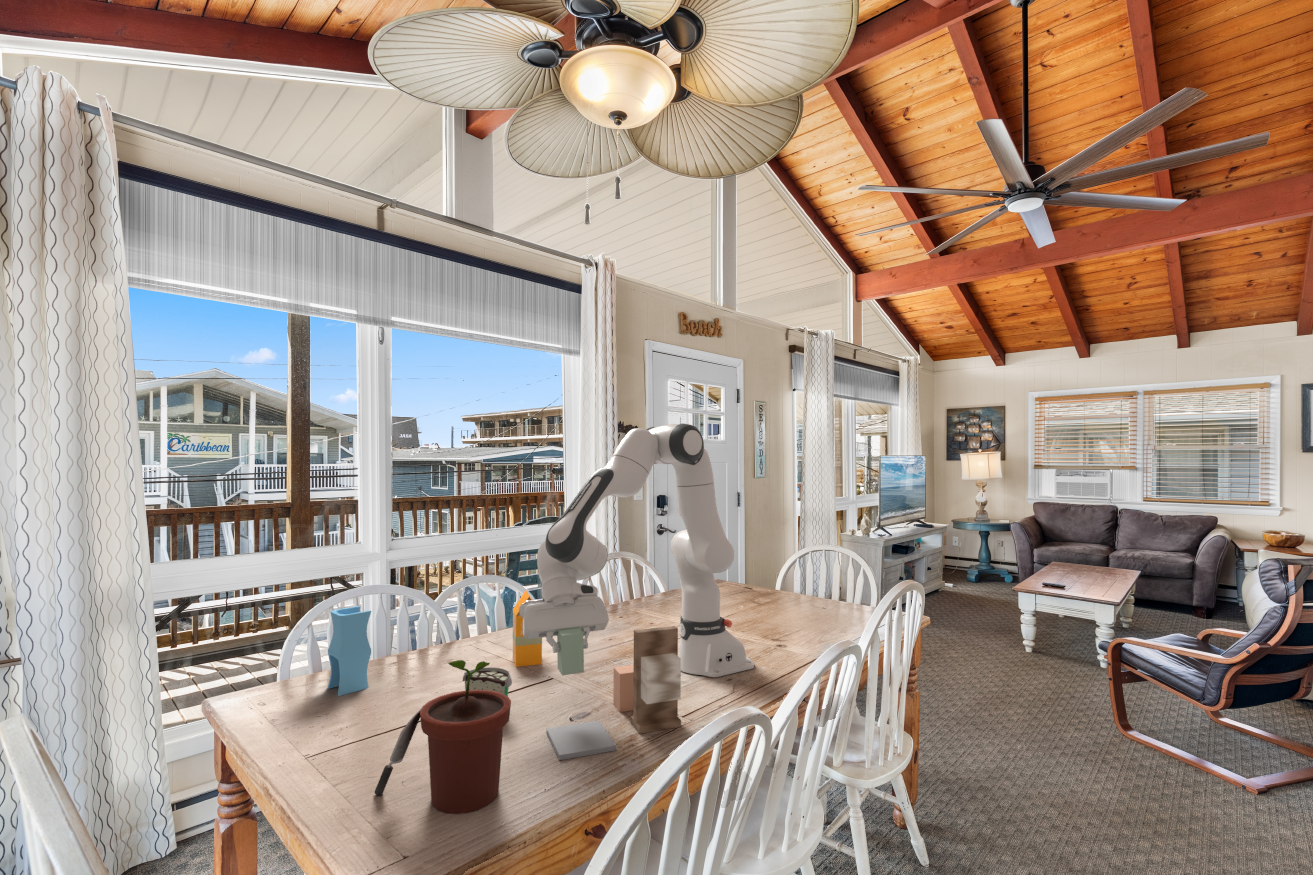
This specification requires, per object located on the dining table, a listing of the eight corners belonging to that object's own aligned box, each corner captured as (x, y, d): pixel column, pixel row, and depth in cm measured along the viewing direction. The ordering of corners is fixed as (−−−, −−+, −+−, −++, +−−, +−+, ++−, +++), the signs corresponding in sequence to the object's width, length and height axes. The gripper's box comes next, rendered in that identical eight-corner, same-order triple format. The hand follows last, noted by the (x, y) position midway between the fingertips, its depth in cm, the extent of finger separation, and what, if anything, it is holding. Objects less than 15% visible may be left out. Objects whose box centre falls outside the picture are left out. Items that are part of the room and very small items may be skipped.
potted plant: (448, 837, 100) (450, 680, 101) (372, 794, 112) (374, 654, 113) (530, 789, 114) (531, 651, 115) (455, 755, 127) (456, 632, 127)
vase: (370, 687, 163) (371, 610, 164) (338, 695, 158) (340, 616, 158) (358, 679, 169) (359, 605, 169) (327, 687, 163) (328, 610, 163)
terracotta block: (632, 701, 155) (632, 664, 155) (639, 708, 150) (639, 671, 151) (613, 704, 153) (613, 667, 154) (619, 711, 149) (619, 673, 149)
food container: (521, 712, 148) (522, 670, 148) (507, 723, 142) (507, 678, 142) (477, 705, 152) (478, 664, 152) (461, 715, 146) (462, 672, 147)
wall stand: (670, 715, 146) (671, 623, 147) (684, 730, 139) (684, 632, 139) (630, 722, 143) (630, 627, 143) (642, 737, 135) (642, 637, 136)
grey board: (599, 724, 142) (599, 720, 142) (616, 750, 130) (616, 745, 130) (546, 732, 137) (546, 728, 137) (559, 760, 125) (559, 755, 125)
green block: (578, 665, 147) (578, 626, 147) (583, 672, 143) (583, 632, 143) (557, 668, 145) (557, 629, 146) (562, 675, 141) (561, 635, 141)
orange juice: (538, 654, 190) (538, 588, 191) (542, 664, 182) (542, 595, 182) (511, 657, 188) (512, 590, 188) (514, 666, 179) (515, 597, 180)
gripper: (519, 594, 147) (527, 648, 138) (603, 586, 154) (615, 637, 145) (516, 609, 151) (523, 662, 142) (598, 600, 158) (610, 650, 149)
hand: (571, 649), depth 144 cm, fingers closed on green block, 5 cm apart
